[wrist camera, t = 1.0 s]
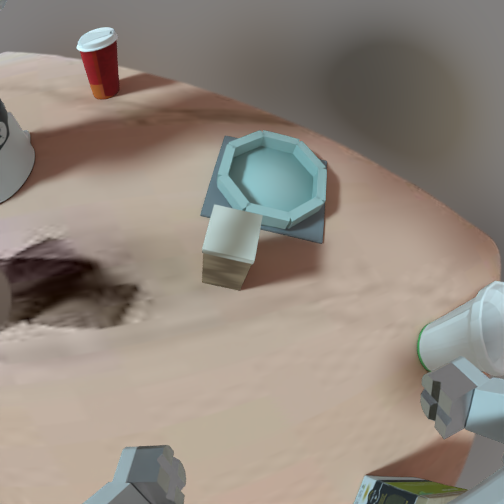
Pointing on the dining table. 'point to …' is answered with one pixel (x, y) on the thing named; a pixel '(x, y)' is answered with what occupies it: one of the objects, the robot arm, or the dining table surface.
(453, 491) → the tea box
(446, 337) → the cup
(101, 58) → the paper cup
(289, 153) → the bowl
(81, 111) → the dining table surface
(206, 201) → the place mat
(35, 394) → the dining table surface
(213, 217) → the lidded brown carton
